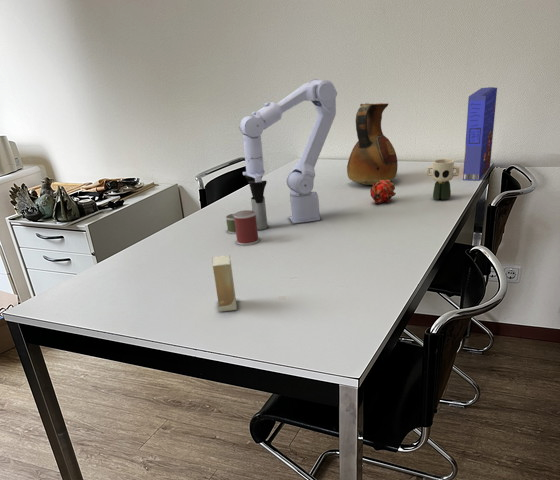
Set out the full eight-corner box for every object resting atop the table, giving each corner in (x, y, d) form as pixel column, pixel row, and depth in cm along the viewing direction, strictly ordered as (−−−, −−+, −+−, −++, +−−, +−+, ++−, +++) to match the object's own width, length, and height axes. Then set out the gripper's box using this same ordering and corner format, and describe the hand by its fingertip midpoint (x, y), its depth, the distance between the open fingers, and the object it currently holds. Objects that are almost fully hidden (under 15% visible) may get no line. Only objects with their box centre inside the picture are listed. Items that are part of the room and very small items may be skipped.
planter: (266, 229, 198) (262, 199, 193) (253, 230, 199) (249, 199, 194) (268, 225, 202) (265, 195, 197) (256, 226, 203) (252, 195, 198)
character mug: (424, 201, 210) (425, 163, 204) (428, 195, 216) (429, 158, 209) (455, 201, 206) (457, 163, 199) (459, 196, 212) (461, 158, 205)
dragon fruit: (391, 201, 219) (378, 215, 212) (373, 187, 219) (360, 201, 212) (403, 184, 212) (391, 198, 205) (384, 169, 213) (371, 183, 205)
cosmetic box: (219, 302, 151) (212, 256, 144) (236, 300, 151) (230, 254, 144) (219, 312, 145) (211, 265, 139) (237, 310, 145) (230, 263, 139)
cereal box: (475, 166, 246) (481, 87, 231) (490, 167, 243) (497, 86, 228) (462, 180, 230) (468, 95, 215) (478, 180, 227) (485, 95, 212)
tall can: (257, 236, 193) (254, 209, 189) (260, 243, 187) (257, 215, 183) (236, 239, 192) (232, 212, 188) (238, 246, 186) (234, 218, 182)
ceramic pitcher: (405, 178, 240) (406, 97, 225) (384, 191, 226) (385, 106, 211) (361, 176, 250) (359, 98, 235) (339, 188, 236) (336, 107, 220)
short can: (245, 226, 204) (244, 211, 201) (248, 231, 198) (246, 217, 196) (226, 229, 203) (224, 214, 201) (228, 234, 198) (226, 219, 195)
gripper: (238, 154, 195) (243, 196, 202) (244, 162, 182) (248, 206, 189) (260, 152, 195) (263, 193, 202) (266, 160, 183) (270, 204, 190)
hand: (257, 200), depth 196 cm, fingers open, 7 cm apart
